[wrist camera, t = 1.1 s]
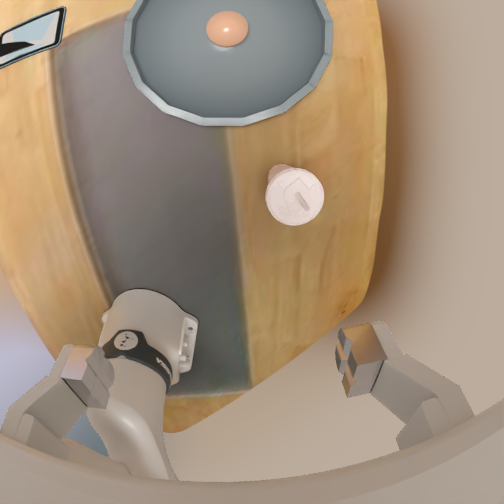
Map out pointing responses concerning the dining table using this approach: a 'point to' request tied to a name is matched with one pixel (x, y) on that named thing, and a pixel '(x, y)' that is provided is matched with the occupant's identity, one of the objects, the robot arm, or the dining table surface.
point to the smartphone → (32, 36)
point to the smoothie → (293, 194)
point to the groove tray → (227, 56)
